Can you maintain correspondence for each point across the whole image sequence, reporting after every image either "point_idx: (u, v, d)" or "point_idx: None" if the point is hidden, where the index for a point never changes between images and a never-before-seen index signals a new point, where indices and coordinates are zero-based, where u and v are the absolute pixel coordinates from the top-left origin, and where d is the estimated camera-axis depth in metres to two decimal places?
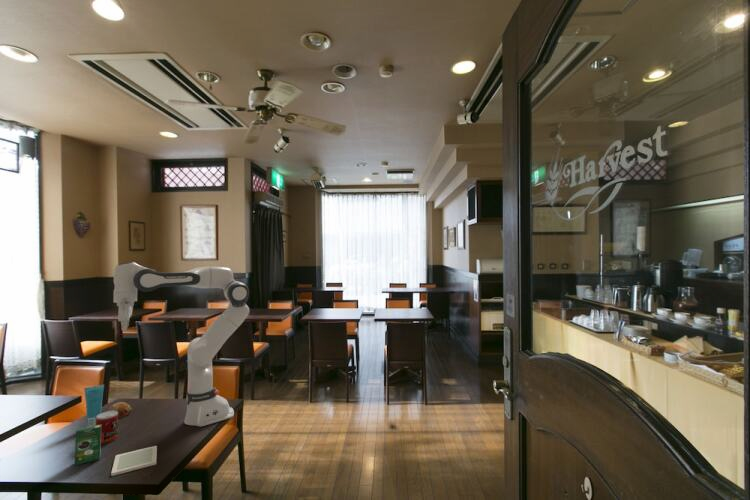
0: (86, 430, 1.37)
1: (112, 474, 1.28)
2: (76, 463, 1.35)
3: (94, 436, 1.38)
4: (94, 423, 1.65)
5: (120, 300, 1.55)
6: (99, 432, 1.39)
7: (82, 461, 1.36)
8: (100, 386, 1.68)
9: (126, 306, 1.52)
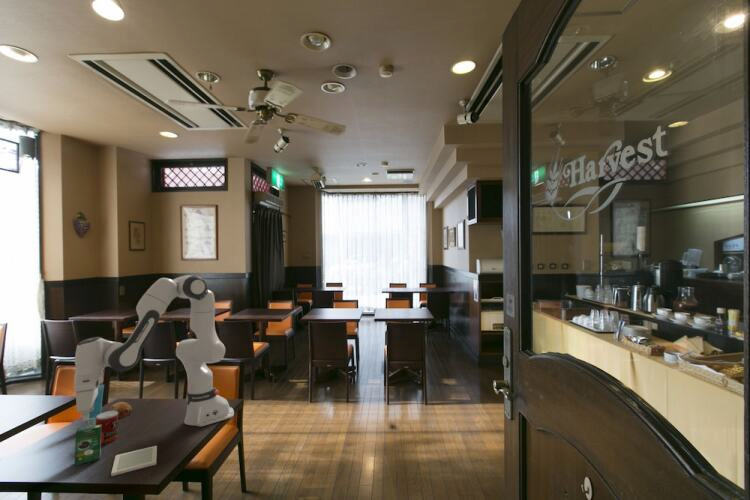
0: (86, 430, 1.37)
1: (112, 474, 1.28)
2: (76, 463, 1.35)
3: (94, 436, 1.38)
4: (94, 423, 1.65)
5: None
6: (99, 432, 1.39)
7: (82, 461, 1.36)
8: (100, 386, 1.68)
9: None
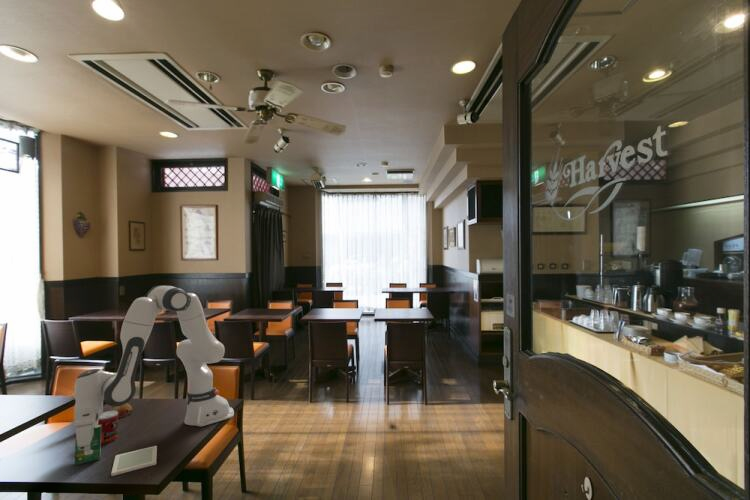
0: None
1: (112, 474, 1.28)
2: (76, 463, 1.35)
3: (94, 436, 1.38)
4: None
5: None
6: (99, 432, 1.39)
7: (82, 461, 1.36)
8: None
9: None
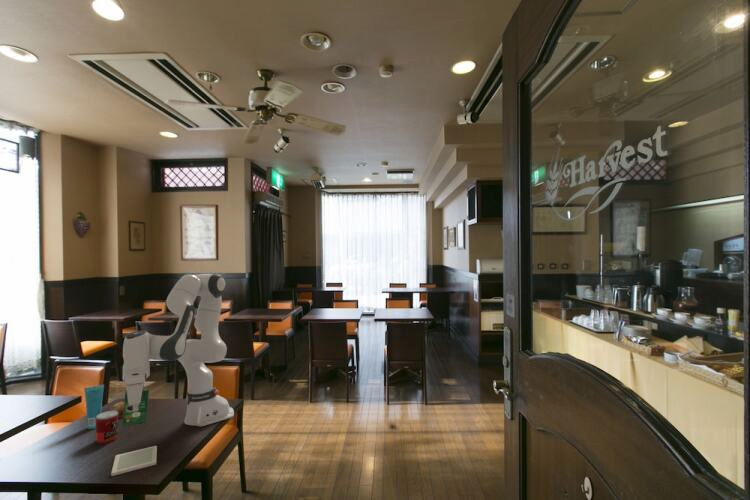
0: None
1: (112, 474, 1.28)
2: (124, 424, 1.35)
3: (142, 398, 1.39)
4: (94, 423, 1.65)
5: None
6: (147, 395, 1.39)
7: (130, 423, 1.36)
8: (100, 386, 1.68)
9: None
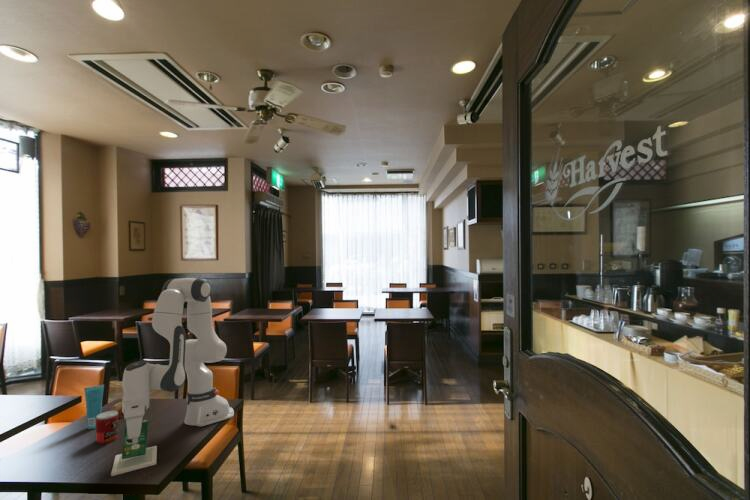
0: None
1: (112, 474, 1.28)
2: (123, 457, 1.35)
3: (142, 430, 1.38)
4: (94, 423, 1.65)
5: None
6: (146, 427, 1.39)
7: (129, 455, 1.36)
8: (100, 386, 1.68)
9: None
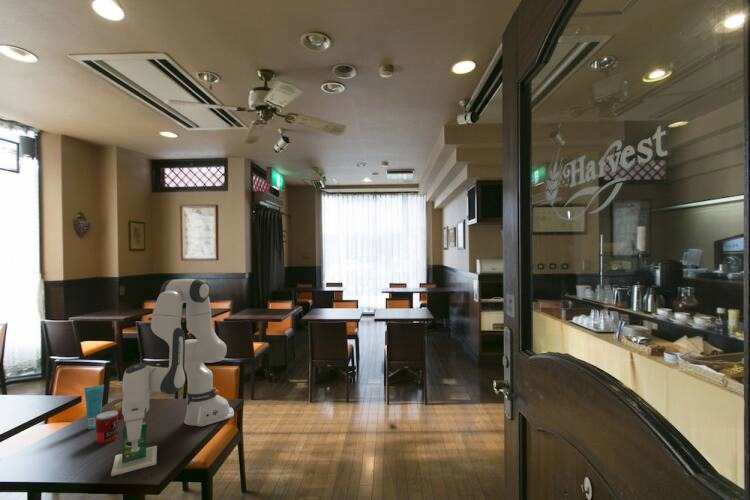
0: None
1: (112, 474, 1.28)
2: (123, 460, 1.35)
3: None
4: (94, 423, 1.65)
5: None
6: (145, 429, 1.39)
7: (129, 458, 1.36)
8: (100, 386, 1.68)
9: None
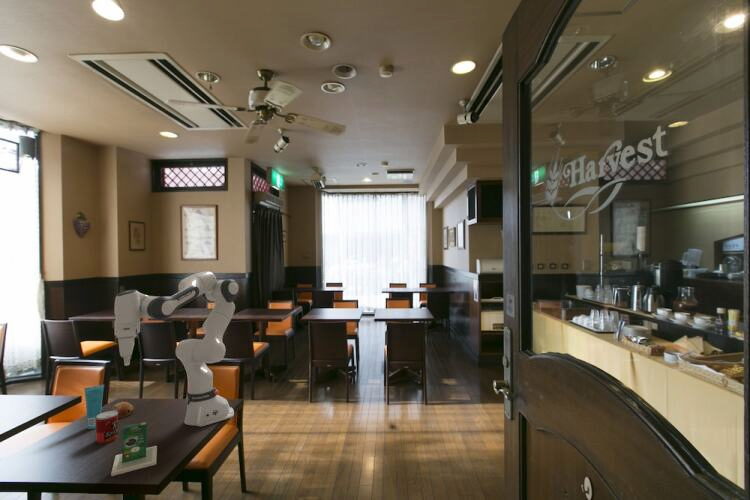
0: (133, 427, 1.37)
1: (112, 474, 1.28)
2: (123, 460, 1.35)
3: (140, 433, 1.38)
4: (94, 423, 1.65)
5: None
6: (145, 429, 1.39)
7: (129, 458, 1.36)
8: (100, 386, 1.68)
9: None
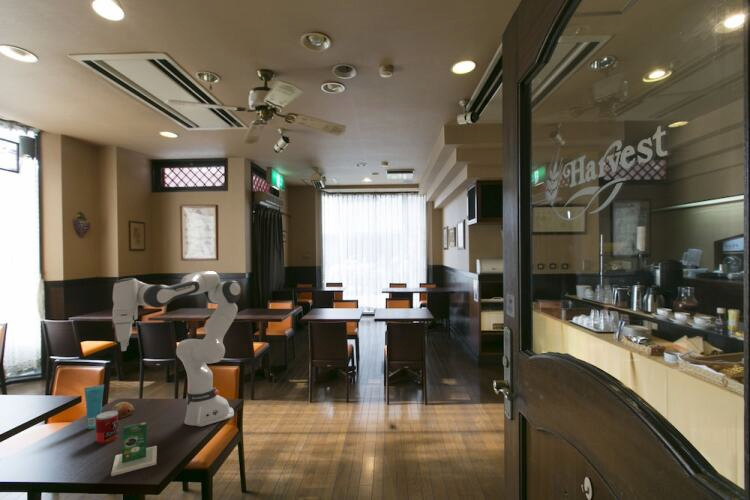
0: (133, 427, 1.37)
1: (112, 474, 1.28)
2: (123, 460, 1.35)
3: (140, 433, 1.38)
4: (94, 423, 1.65)
5: None
6: (145, 429, 1.39)
7: (129, 458, 1.36)
8: (100, 386, 1.68)
9: None
